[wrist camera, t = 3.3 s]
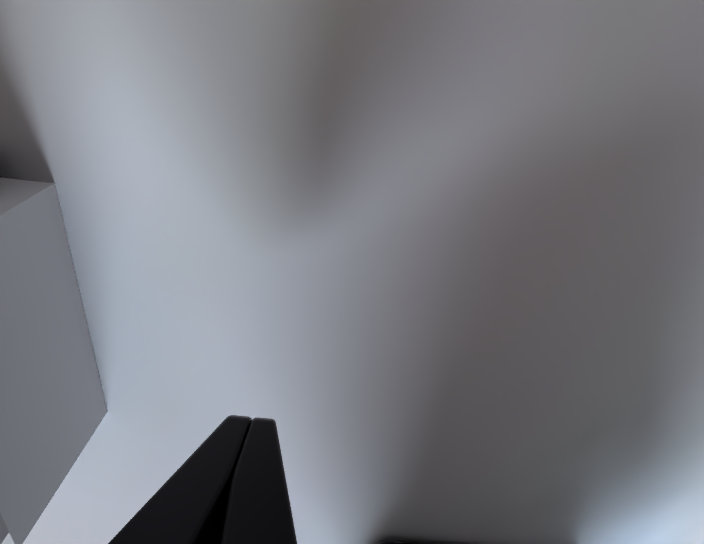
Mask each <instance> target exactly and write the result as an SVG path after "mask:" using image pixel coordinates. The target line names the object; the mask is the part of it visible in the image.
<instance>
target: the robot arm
mask: <svg viewBox="0 0 704 544" xmlns="http://www.w3.org/2000/svg"><path fill="white" fill-rule="evenodd" d="M108 544H297V540H296V535H295V529H294V523H293V518H292V512H291V506H290V501H289V495H288V489H287V484H286V478H285V472H284V467H283V461H282V455H281V450H280V444H279V438H278V433H277V427H276V422H275V420H273V419H267V418H254V419H253V420H252V419H251V418H250V417H247V416H236V415H231V416H228V417H227V418H226V419H225V420H224V421H223V422H222V423H221V424H220V425H219V426H218V427H217V429H216V430H215V431H214V432H213V433H212V434H211V435H210V436H209V437H208V438H207V439H206V440H205V441H204V442H203V443H202V444H201V446H200V447H199V448H198V449H197V450H196V451H195V452H194V453H193V454H192V455H191V456H190V457H189V458H188V459H187V460H186V461H185V463H184V464H183V465H182V466H181V467H180V468H179V469H178V470H177V471H176V472H175V473H174V474H173V475H172V476H171V477H170V478H169V480H168V481H167V482H166V483H165V484H164V485H163V486H162V487H161V488H160V489H159V490H158V491H157V492H156V493H155V494H154V495H153V497H152V498H151V499H150V500H149V501H148V502H147V503H146V504H145V505H144V506H143V507H142V508H141V509H140V510H139V511H138V512H137V514H136V515H135V516H134V517H133V518H132V519H131V520H130V521H129V522H128V523H127V524H126V525H125V526H124V527H123V528H122V530H121V531H120V532H119V533H118V534H117V535H116V536H115V537H114V538H113V539H112V540H111V541H110V542H109V543H108ZM382 544H407V543H396V542H385V543H382Z"/></svg>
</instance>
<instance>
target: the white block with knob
mask: <svg viewBox="0 0 704 544" xmlns="http://www.w3.org/2000/svg"><path fill="white" fill-rule="evenodd" d="M106 413H107V407H106V403H105V398H104V394H103V390H102V385H101V381H100V377H99V372H98V368H97V364H96V359H95V355H94V351H93V346H92V342H91V338H90V333H89V329H88V325H87V320H86V316H85V312H84V307H83V303H82V299H81V294H80V290H79V286H78V281H77V277H76V273H75V268H74V264H73V260H72V255H71V251H70V247H69V242H68V238H67V234H66V229H65V225H64V221H63V216H62V212H61V208H60V203H59V199H58V195H57V190H56V186H55V183H48V182H38V181H28V180H19V179H9V178H0V544H22V543H23V542H24V540H25V539H26V537H27V536H28V534H29V533H30V531H31V529H32V528H33V526H34V525H35V523H36V522H37V520H38V519H39V517H40V515H41V514H42V512H43V511H44V509H45V508H46V506H47V505H48V503H49V501H50V500H51V498H52V497H53V495H54V494H55V492H56V491H57V489H58V488H59V486H60V484H61V483H62V481H63V480H64V478H65V477H66V475H67V474H68V472H69V470H70V469H71V467H72V466H73V464H74V463H75V461H76V460H77V458H78V456H79V455H80V453H81V452H82V450H83V449H84V447H85V446H86V444H87V442H88V441H89V439H90V438H91V436H92V435H93V433H94V432H95V430H96V428H97V427H98V425H99V424H100V422H101V421H102V419H103V418H104V416H105V415H106Z"/></svg>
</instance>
